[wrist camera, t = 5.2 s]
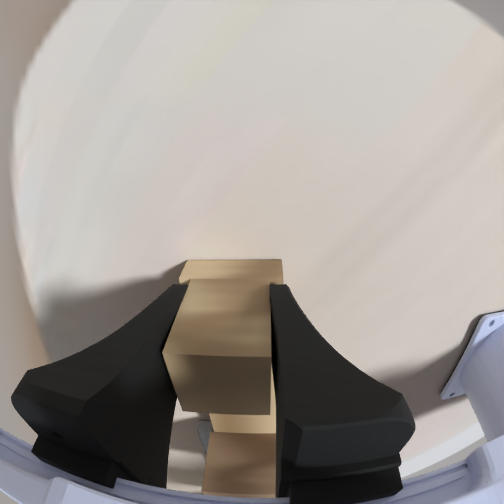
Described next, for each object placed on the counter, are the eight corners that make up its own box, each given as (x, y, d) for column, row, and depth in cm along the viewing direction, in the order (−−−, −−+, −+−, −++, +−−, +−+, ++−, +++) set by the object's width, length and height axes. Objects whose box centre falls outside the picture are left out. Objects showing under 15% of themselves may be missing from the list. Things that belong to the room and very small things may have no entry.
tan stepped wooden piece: (281, 259, 12) (290, 356, 8) (274, 441, 20) (274, 502, 15) (187, 260, 13) (146, 350, 8) (223, 440, 20) (216, 500, 15)
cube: (280, 433, 16) (281, 494, 12) (278, 458, 18) (278, 509, 14) (210, 431, 16) (201, 491, 12) (218, 457, 18) (212, 507, 14)
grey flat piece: (373, 414, 18) (378, 431, 16) (339, 474, 24) (341, 485, 22) (199, 420, 18) (196, 437, 17) (220, 477, 24) (219, 489, 23)
